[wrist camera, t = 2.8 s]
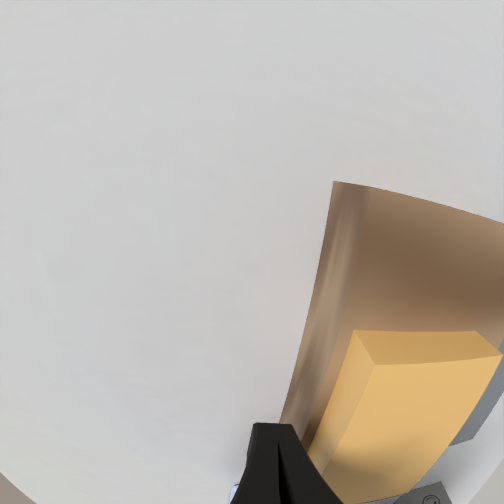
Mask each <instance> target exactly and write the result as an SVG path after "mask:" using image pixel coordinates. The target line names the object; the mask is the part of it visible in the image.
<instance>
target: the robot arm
mask: <svg viewBox="0 0 504 504" xmlns="http://www.w3.org/2000/svg"><path fill="white" fill-rule="evenodd" d="M228 504H344V503H343V502H342V501H341V500H340V499H339V498H338V497H337V495H336V494H335V493H334V492H333V491H332V489H331V488H330V487H329V486H328V484H327V483H326V482H325V480H324V479H323V477H322V476H321V475H320V473H319V472H318V470H317V469H316V467H315V466H314V464H313V462H312V461H311V459H310V458H309V456H308V454H307V452H306V451H305V449H304V447H303V445H302V443H301V441H300V440H299V438H298V436H297V433H296V431H295V429H294V427H293V425H292V424H277V423H255V424H253V428H252V433H251V437H250V442H249V446H248V451H247V461H246V468H245V471H244V473H243V476H242V478H241V481H240V483H239V485H236V486H233V487H232V488H231V493H230V498H229V502H228Z"/></svg>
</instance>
